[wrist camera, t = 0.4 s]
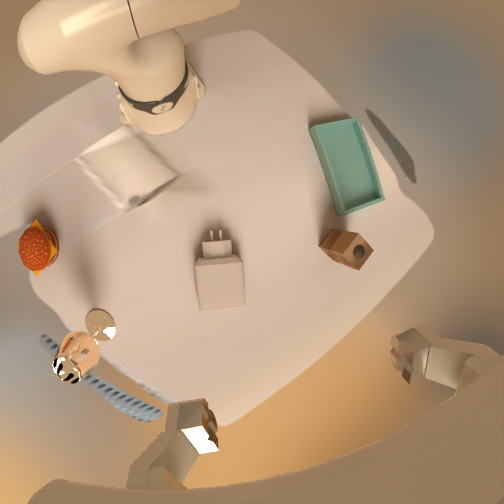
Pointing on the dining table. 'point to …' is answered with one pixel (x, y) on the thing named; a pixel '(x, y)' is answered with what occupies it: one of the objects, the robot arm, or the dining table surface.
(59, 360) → the wineglass
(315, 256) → the dining table surface
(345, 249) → the block
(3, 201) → the dining table surface
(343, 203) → the tray
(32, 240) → the hamburger
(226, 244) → the charger
